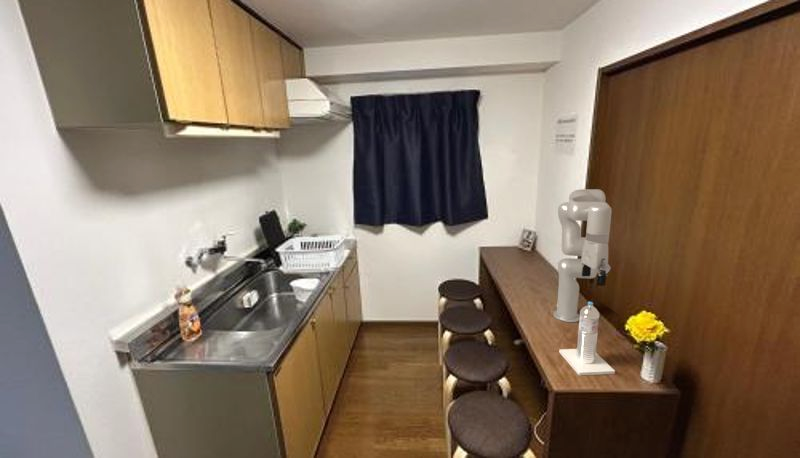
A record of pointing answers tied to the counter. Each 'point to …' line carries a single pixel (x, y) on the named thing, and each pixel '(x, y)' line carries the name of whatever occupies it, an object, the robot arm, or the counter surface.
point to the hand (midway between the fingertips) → (593, 280)
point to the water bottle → (587, 334)
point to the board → (586, 364)
